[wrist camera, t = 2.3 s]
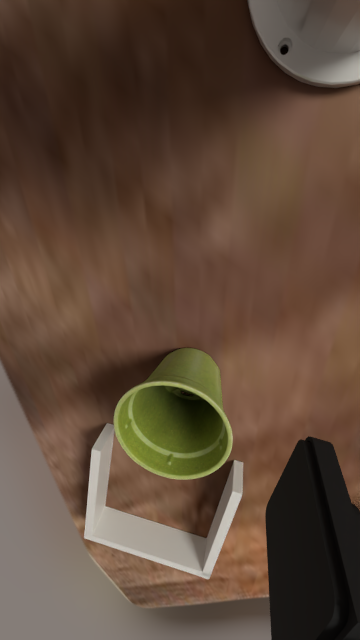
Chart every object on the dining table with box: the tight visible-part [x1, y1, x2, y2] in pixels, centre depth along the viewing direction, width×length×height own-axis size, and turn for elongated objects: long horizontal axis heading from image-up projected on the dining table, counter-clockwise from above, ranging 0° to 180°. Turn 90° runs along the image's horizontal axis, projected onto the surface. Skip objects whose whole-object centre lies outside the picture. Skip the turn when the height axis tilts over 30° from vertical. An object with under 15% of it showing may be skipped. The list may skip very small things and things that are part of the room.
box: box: [84, 423, 243, 579], centre depth 38 cm, size 16×16×4 cm
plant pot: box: [114, 348, 233, 479], centre depth 29 cm, size 9×9×9 cm
